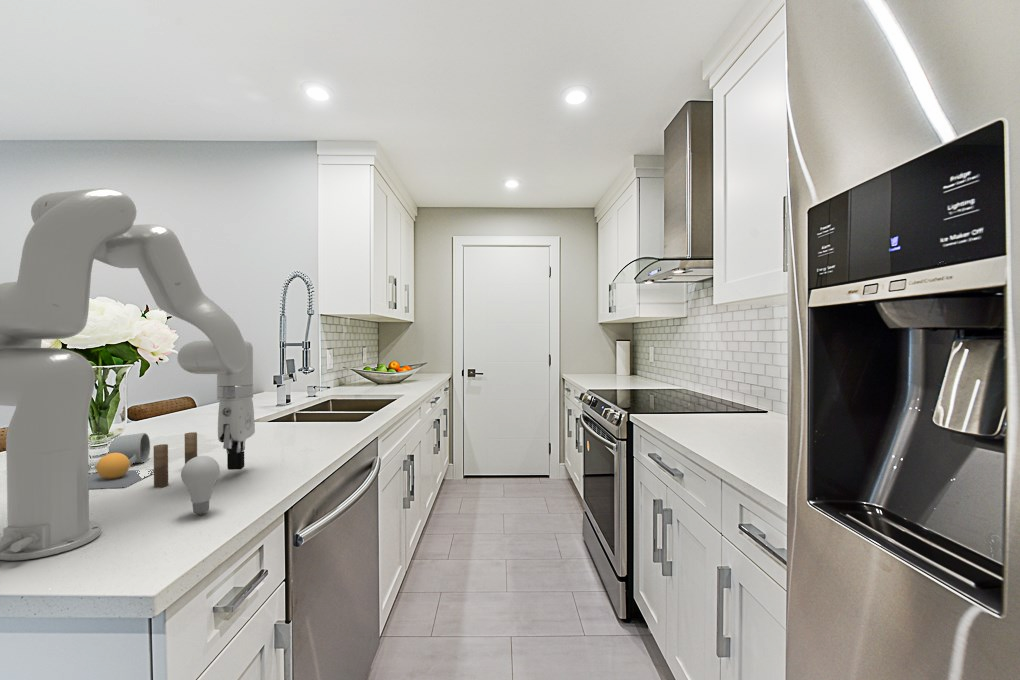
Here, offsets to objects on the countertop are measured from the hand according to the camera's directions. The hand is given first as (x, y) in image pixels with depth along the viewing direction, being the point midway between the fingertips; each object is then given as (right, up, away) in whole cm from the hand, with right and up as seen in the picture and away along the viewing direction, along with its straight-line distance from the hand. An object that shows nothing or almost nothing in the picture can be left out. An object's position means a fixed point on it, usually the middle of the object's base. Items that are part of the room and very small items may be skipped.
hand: (236, 468), depth 115 cm
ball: (-27, +1, -3) cm, 27 cm away
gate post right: (-14, -1, +5) cm, 15 cm away
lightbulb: (+8, -2, -25) cm, 26 cm away
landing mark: (-27, -2, -4) cm, 27 cm away
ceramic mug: (-33, -2, +9) cm, 35 cm away
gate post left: (-12, -2, -8) cm, 15 cm away
